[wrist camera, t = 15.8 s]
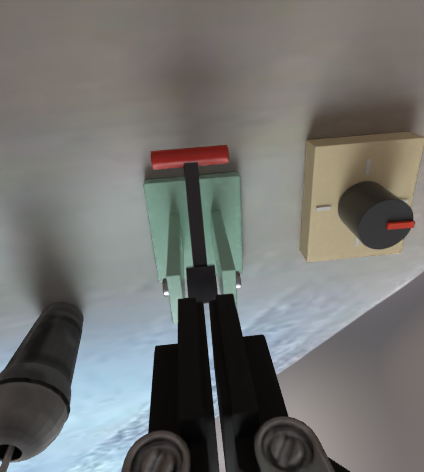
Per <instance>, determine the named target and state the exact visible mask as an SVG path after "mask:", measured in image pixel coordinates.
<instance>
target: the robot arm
mask: <svg viewBox="0 0 424 472" xmlns="http://www.w3.org/2000/svg"><path fill="white" fill-rule="evenodd" d="M209 309H210V321H211V333H212V345H213V357H214V369H215V378H216V387H217V396H218V405H219V414H220V423H221V430H222V431H221V432H222V441H223V450H224V458H225V467H226V472H350V471H348V470H347V469H345V468H344V467H342V466H341V465H339V464H338V463H336V462H335V461H333V460H332V459H330V458H329V457H327V455H326V453H325V451H324V449H323V447H322V445H321V443H320V441H319V439H318V437H317V436H316V435H315V433H314V432H313V430H312V429H311V428H310V427H308V426H307V425H306V424H305V423H304V422H302V421H299V420H297V419H295V418H291V417H288V414H287V410H286V407H285V404H284V400H283V397H282V393H281V390H280V386H279V383H278V380H277V376H276V373H275V370H274V366H273V363H272V359H271V356H270V353H269V349H268V346H267V342H266V339H265V337H264V335H254V336H245V337H243V336H242V331H241V327H240V322H239V317H238V313H237V308H236V304H235V299H234V295H233V293H231V294H221V295H215V300H210V301H209ZM121 472H219V463H218V452H217V440H216V430H215V418H214V407H213V397H212V387H211V376H210V366H209V356H208V346H207V335H206V325H205V315H204V305H203V301H200V302H196V297H191V298H181V299H178V344H169V345H160V346H156V347H155V352H154V366H153V379H152V392H151V405H150V418H149V431H148V434H146V435H144V436H143V437H141V438H140V439H139V440H137V441H136V442H135V443H134V444H133V446H132V447H131V448H130V449H129V451H128V453H127V456H126V458H125V460H124V464H123V467H122V471H121Z"/></svg>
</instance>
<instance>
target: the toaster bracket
mask: <svg viewBox="0 0 424 472" xmlns="http://www.w3.org/2000/svg"><path fill="white" fill-rule="evenodd" d="M199 182H200V193H201V203H202V214H203V225H204V235H205V246H206V256H207V264H214V265H215V272H216V276H218V281H219V287H220V293H221V294H231V293H233V295H234V299H235V304H236V308H237V291H236V289H240V288H241V278H240V274H242V273H243V268H242V231H241V194H240V175H239V173H238V172H230V173H219V174H207V175H199ZM143 185H144V191H145V198H146V204H147V210H148V216H149V223H150V229H151V235H152V242H153V248H154V254H155V261H156V267H157V273H158V280H159V282H162V281H163V293H164V296H169V300H170V307H171V314H172V320H173V323H178V299H181V298H185V279H187V275H186V267H187V266H193V259H192V249H191V238H190V227H189V217H188V206H187V195H186V184H185V176H184V177H173V178H161V179H149V180H144V184H143Z"/></svg>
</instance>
